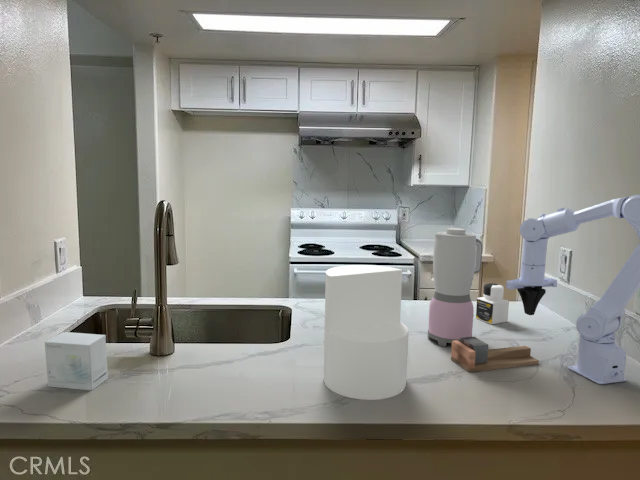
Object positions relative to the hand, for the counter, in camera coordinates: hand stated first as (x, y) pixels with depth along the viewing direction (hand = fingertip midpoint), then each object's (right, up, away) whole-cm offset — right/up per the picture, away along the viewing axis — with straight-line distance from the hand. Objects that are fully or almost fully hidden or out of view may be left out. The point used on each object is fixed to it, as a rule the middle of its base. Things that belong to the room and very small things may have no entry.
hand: (529, 314), depth 124 cm
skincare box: (-109, -12, -21) cm, 112 cm away
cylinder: (-46, -13, -18) cm, 50 cm away
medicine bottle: (0, -7, +28) cm, 29 cm away
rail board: (-12, -11, -6) cm, 17 cm away
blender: (-17, -9, +10) cm, 22 cm away
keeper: (-18, -10, -8) cm, 22 cm away
